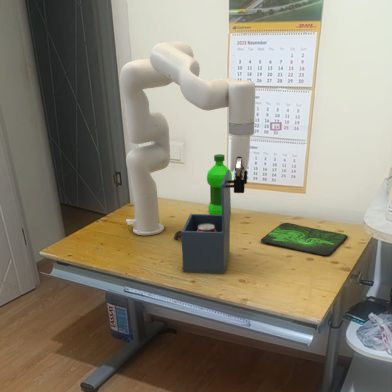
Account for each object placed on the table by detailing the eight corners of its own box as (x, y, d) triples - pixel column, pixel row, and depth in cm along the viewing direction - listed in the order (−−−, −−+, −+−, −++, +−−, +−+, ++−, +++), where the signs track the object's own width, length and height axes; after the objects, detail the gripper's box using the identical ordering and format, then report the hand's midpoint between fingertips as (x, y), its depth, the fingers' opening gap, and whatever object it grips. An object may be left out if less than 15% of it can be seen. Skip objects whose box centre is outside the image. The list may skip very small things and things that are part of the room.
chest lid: (220, 184, 140) (241, 184, 139) (227, 169, 154) (246, 169, 152) (222, 231, 148) (242, 231, 147) (228, 213, 162) (246, 213, 161)
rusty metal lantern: (183, 236, 170) (206, 225, 172) (168, 222, 179) (190, 212, 181) (187, 253, 175) (210, 242, 177) (172, 238, 184) (194, 228, 186)
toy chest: (183, 271, 159) (181, 231, 151) (192, 251, 172) (190, 213, 164) (223, 273, 157) (223, 233, 149) (229, 253, 170) (229, 214, 162)
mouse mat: (349, 236, 179) (349, 233, 178) (329, 257, 164) (329, 254, 163) (282, 224, 191) (282, 221, 191) (258, 242, 176) (258, 240, 176)
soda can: (217, 255, 167) (217, 222, 160) (216, 264, 161) (216, 230, 154) (198, 255, 167) (196, 222, 160) (196, 264, 162) (194, 230, 155)
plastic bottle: (221, 211, 207) (221, 151, 192) (236, 218, 199) (237, 155, 185) (203, 216, 202) (201, 155, 188) (217, 223, 195) (216, 160, 181)
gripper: (231, 123, 146) (231, 180, 155) (225, 135, 132) (225, 196, 141) (256, 123, 144) (254, 180, 154) (251, 134, 130) (250, 196, 140)
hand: (240, 188), depth 148 cm, fingers open, 9 cm apart
